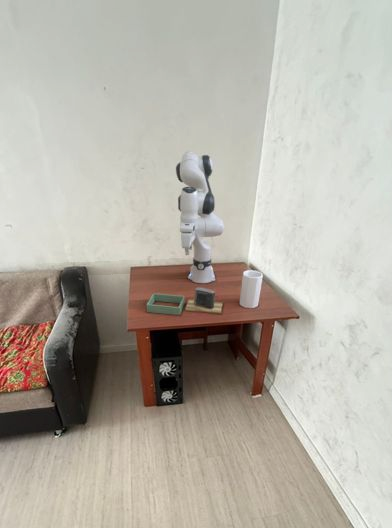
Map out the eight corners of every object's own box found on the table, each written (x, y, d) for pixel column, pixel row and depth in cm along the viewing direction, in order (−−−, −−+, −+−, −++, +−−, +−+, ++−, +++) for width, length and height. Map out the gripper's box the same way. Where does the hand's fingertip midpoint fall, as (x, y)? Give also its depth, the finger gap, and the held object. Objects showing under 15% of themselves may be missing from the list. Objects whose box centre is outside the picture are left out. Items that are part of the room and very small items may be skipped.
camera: (215, 306, 165) (216, 289, 159) (211, 310, 161) (212, 294, 155) (197, 301, 169) (197, 285, 163) (192, 305, 165) (193, 289, 159)
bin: (153, 300, 172) (153, 293, 169) (184, 303, 170) (184, 296, 167) (146, 312, 160) (146, 304, 158) (179, 315, 158) (179, 307, 156)
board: (188, 300, 172) (188, 299, 172) (222, 304, 170) (222, 302, 169) (185, 310, 163) (185, 309, 162) (220, 314, 160) (220, 312, 160)
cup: (243, 309, 165) (247, 278, 154) (236, 300, 174) (239, 270, 163) (261, 307, 168) (266, 276, 157) (253, 298, 176) (257, 269, 165)
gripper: (186, 219, 155) (186, 245, 163) (179, 229, 138) (179, 257, 146) (198, 219, 154) (197, 246, 162) (192, 229, 138) (191, 258, 146)
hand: (188, 252), depth 154 cm, fingers open, 8 cm apart
